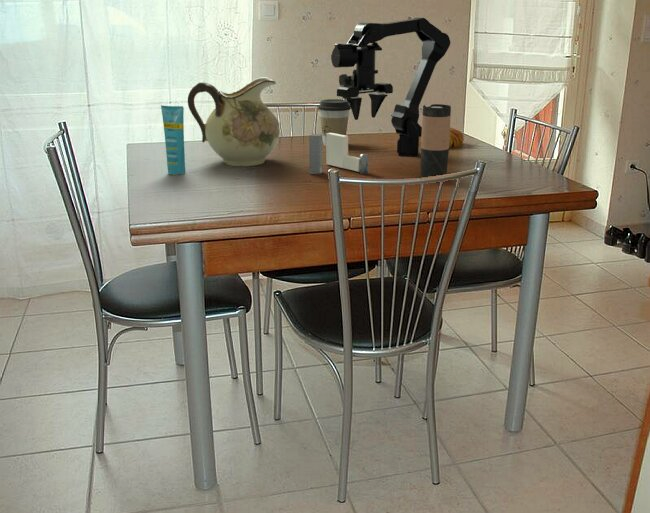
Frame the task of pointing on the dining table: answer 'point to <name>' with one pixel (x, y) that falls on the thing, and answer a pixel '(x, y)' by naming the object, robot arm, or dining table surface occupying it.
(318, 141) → the post
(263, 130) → the pitcher
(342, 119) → the coffee cup
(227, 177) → the dining table surface
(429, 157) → the travel mug
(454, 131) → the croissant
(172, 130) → the tube
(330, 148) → the gate
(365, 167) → the hinge post
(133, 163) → the dining table surface
